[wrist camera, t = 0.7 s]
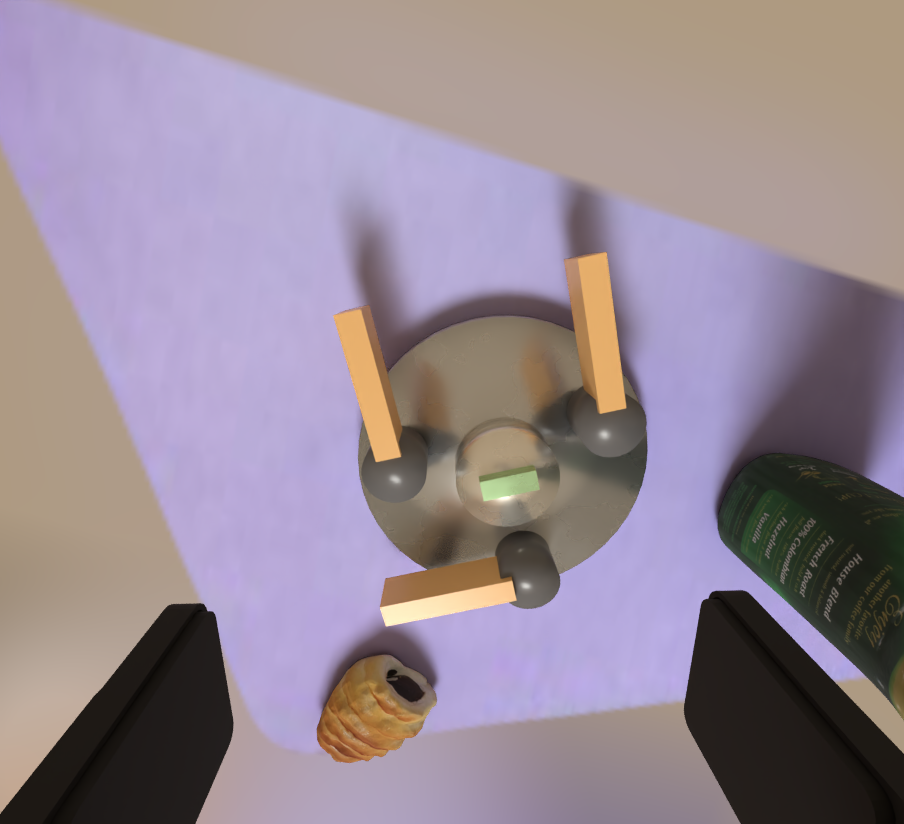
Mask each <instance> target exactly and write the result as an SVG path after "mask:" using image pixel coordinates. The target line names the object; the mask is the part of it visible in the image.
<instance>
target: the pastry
mask: <svg viewBox="0 0 904 824" xmlns="http://www.w3.org/2000/svg"><path fill="white" fill-rule="evenodd" d="M436 702H437V697H436V693H435V691H434V690H433V688H432V687H431V685H430V684H429V683H428V682H427V679H426V678H425V677H424V676H423V675H422V674H421V673H419V672H417V671H415V670H413V669H411V668H408V667H406V666H403V665H402V663H401V662H400V661H398V660H397V659H396V658H394V657H393V656H391V655H378V656H370V657H366V658H363V659H361V660H359V661H357V662H356V663H355V664H354V665H353V666H352V667H351V668H350V669H349V670H347V671H346V673H345V675H344V676H343V678H342V679H341V681H340V682H339V684H338V685H337V686H336V687H335V689H334V690H333V692H332V695H331V696H330V698H329V700H328V702H327V704H326V706H325V708H324V710H323V712H322V715H321V718H320V721H319V724H318V726H317V740H318V742H319V744H320V746H321V747H322V748H323V749H324V750H325V751H326V752H327V753H329V754H331V756H332V758H333V759H334V760H335V761H337V762H346V763H352V762H356V761H359V760H365V761H369V760H370V759H371V758H372V757H374V756H379V757H383V756H384V755H386V753H387V752H388V750H397V749H398V748H400V746H401V745H402V743H403V741H404V739H405V738H412V737H414V736H416V735H417V734H418V732H419V731H420V730H421V729H422V727H423V723H424V721H425V719H426V716H427V715H428V714H429V712H430V710H431V708H432V707H434V706H435V705H436Z"/></svg>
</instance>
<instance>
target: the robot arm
mask: <svg viewBox="0 0 904 824" xmlns="http://www.w3.org/2000/svg"><path fill="white" fill-rule="evenodd" d="M684 715H685V719H686V723H687V726H688V728H689V730H690V732H691V734H692V736H693V738H694V739H695V741H696V743H697V745H698V747H699V749H700V750H701V752H702V754H703V756H704V758H705V759H706V761H707V763H708V765H709V767H710V769H711V770H712V772H713V774H714V776H715V778H716V779H717V781H718V783H719V785H720V787H721V788H722V790H723V792H724V794H725V796H726V798H727V800H728V801H729V803H730V805H731V807H732V809H733V810H734V812H735V814H736V816H737V818H738V820H739V821H740V823H741V824H904V754H903V753H902V751H901V750H899V748H898V747H897V746H896V745H895V744H894V743H893V742H892V741H891V740H890V739H889V738H888V737H887V736H886V735H885V734H884V733H883V732H882V731H881V730H880V729H879V728H878V727H877V726H876V724H875V723H874V722H873V721H872V720H871V719H870V718H869V717H868V716H867V715H866V714H865V713H864V712H863V711H862V710H861V709H860V708H859V707H858V706H857V705H856V704H855V703H854V702H853V701H852V700H851V699H850V698H849V696H848V695H847V694H846V693H845V692H844V691H843V690H842V689H841V688H840V687H839V686H838V685H837V684H836V683H835V682H834V681H833V680H832V679H831V678H830V677H829V676H828V675H827V674H826V673H825V671H824V670H823V669H822V668H821V667H820V666H819V665H818V664H817V663H816V662H815V661H814V660H813V659H812V658H811V657H810V656H809V655H808V654H807V653H806V652H805V651H804V650H803V649H802V648H801V647H800V646H799V644H798V643H797V642H796V641H795V640H794V639H793V638H792V637H791V636H790V635H789V634H788V633H787V632H786V631H785V630H784V629H783V628H782V627H781V626H780V625H779V624H778V623H777V622H776V621H775V620H774V619H773V617H772V616H771V615H770V614H769V613H768V612H767V611H766V610H765V609H764V608H763V607H762V606H761V605H760V604H759V603H758V602H757V601H756V600H755V599H754V598H753V597H752V596H751V595H750V594H749V593H748V592H746V591H743V590H736V591H714V592H712V593H711V594H710V596H709V599H705V600H703V602H702V604H701V608H700V614H699V620H698V626H697V632H696V638H695V644H694V650H693V656H692V662H691V668H690V674H689V680H688V686H687V692H686V698H685V704H684ZM232 733H233V716H232V710H231V704H230V698H229V693H228V686H227V680H226V675H225V668H224V662H223V657H222V651H221V645H220V639H219V633H218V627H217V621H216V616H215V614H214V612H212V611H207V609H206V607H205V605H204V604H201V603H198V604H171V605H169V606H167V607H166V608H165V609H164V611H163V612H162V613H161V614H160V616H159V617H158V618H157V619H156V621H155V622H154V623H153V624H152V626H151V627H150V628H149V630H148V631H147V632H146V633H145V635H144V636H143V637H142V638H141V640H140V641H139V642H138V643H137V645H136V646H135V647H134V648H133V650H132V651H131V652H130V654H129V655H128V656H127V657H126V659H125V660H124V661H123V663H122V664H121V665H120V666H119V667H118V669H117V670H116V671H115V673H114V674H113V675H112V676H111V678H110V679H109V680H108V681H107V683H106V684H105V685H104V686H103V688H102V689H101V690H100V691H99V692H98V693H97V694H96V695H95V696H94V697H93V698H92V700H91V701H90V702H89V703H88V704H87V706H86V707H85V708H84V710H83V711H82V712H81V713H80V714H79V716H78V717H77V718H76V719H75V721H74V722H73V723H72V725H71V726H70V727H69V728H68V730H67V731H66V732H65V733H64V735H63V736H62V737H61V738H60V740H59V741H58V742H57V743H56V745H55V746H54V747H53V748H52V750H51V751H50V752H49V753H48V755H47V756H46V757H45V758H44V760H43V761H42V762H41V764H40V765H39V766H38V767H37V768H36V770H35V771H34V772H33V773H32V775H31V776H30V777H29V779H28V780H27V781H26V782H25V784H24V785H23V786H22V787H21V789H20V790H19V791H18V792H17V794H16V795H15V796H14V797H13V799H12V800H11V801H10V802H9V804H8V805H7V806H6V807H5V809H4V810H3V811H2V812H1V814H0V824H195V823H196V821H197V818H198V816H199V814H200V812H201V809H202V807H203V805H204V802H205V800H206V798H207V795H208V793H209V791H210V788H211V786H212V784H213V781H214V779H215V777H216V775H217V772H218V770H219V768H220V765H221V763H222V761H223V758H224V756H225V754H226V751H227V749H228V747H229V744H230V741H231V738H232Z"/></svg>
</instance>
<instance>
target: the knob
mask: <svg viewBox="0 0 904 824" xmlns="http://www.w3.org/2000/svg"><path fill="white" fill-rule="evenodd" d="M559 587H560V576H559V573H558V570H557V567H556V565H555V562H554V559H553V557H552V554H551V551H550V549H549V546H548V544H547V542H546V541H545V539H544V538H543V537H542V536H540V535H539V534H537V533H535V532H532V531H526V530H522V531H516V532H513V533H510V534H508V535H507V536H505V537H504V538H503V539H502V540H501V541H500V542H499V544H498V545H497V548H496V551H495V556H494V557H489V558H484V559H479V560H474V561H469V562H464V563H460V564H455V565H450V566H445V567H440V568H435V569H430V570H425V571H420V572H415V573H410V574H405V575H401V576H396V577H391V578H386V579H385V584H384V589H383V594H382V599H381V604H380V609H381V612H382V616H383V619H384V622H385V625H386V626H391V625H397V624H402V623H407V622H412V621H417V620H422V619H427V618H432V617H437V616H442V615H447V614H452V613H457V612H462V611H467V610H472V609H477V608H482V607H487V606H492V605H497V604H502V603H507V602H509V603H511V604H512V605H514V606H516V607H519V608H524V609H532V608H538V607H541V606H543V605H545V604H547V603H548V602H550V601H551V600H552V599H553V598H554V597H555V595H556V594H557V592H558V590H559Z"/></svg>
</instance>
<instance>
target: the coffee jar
mask: <svg viewBox="0 0 904 824" xmlns="http://www.w3.org/2000/svg"><path fill="white" fill-rule="evenodd" d="M718 531H719V535H720V538H721V540H722V541H723V543H724V544H725V545H726V546H727V547H728V548H729V549H730V550H731V551H732V552H733V553H734V554H735V555H736V556H737V557H738V558H739V559H740V560H741V561H742V562H743V563H744V564H745V565H747V566H748V567H749V568H750V569H751V570H752V571H753V572H754V573H755V574H756V575H758V576H759V577H760V578H761V579H762V580H763V581H764V582H765V583H766V584H768V585H769V586H770V587H771V588H772V589H773V590H774V591H776V592H777V593H778V594H779V595H780V596H781V597H782V598H783V599H784V600H785V601H786V602H788V603H789V604H790V605H791V606H792V607H793V608H794V609H795V610H796V611H797V612H798V613H799V614H800V615H802V616H803V617H804V618H805V619H806V620H807V621H808V622H809V623H810V624H811V625H812V626H813V627H814V628H815V629H816V630H818V631H819V632H820V633H821V634H822V635H823V636H824V637H825V638H826V639H827V640H828V641H829V642H830V643H832V644H833V645H834V646H835V647H836V648H837V649H838V650H839V651H840V652H841V653H842V654H843V655H844V656H845V657H846V658H848V659H849V660H850V661H851V662H852V663H853V664H854V665H855V666H856V667H857V668H858V669H859V670H860V671H861V672H862V673H863V674H864V675H865V676H866V677H867V678H868V679H869V680H870V681H871V682H872V683H873V684H874V685H875V686H876V687H877V688H878V689H879V690H880V691H881V692H882V693H883V695H884V696H885V697H886V698H887V699H888V700H889V701H890V703H891V704H892V705H893V706H894V708H895V709H896V710H897V712H898V713H899V714H900V716H901V717H902V719H903V720H904V497H902V496H900V495H898V494H896V493H894V492H892V491H891V490H889V489H887V488H885V487H883V486H881V485H879V484H877V483H875V482H873V481H871V480H869V479H868V478H866V477H864V476H862V475H860V474H858V473H855V472H853V471H851V470H849V469H846V468H844V467H841V466H839V465H836V464H833V463H829V462H826V461H822V460H819V459H815V458H811V457H807V456H801V455H794V454H783V453H773V454H767V455H763V456H760V457H759V458H757V459H755V460H753V461H752V462H750V463H749V464H748V465H746V466H745V467H744V468H743V469H742V471H741V472H740V473H739V474H738V475H737V477H736V478H735V479H734V481H733V482H732V484H731V486H730V488H729V489H728V491H727V493H726V495H725V498H724V500H723V502H722V505H721V508H720V512H719V517H718Z"/></svg>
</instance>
